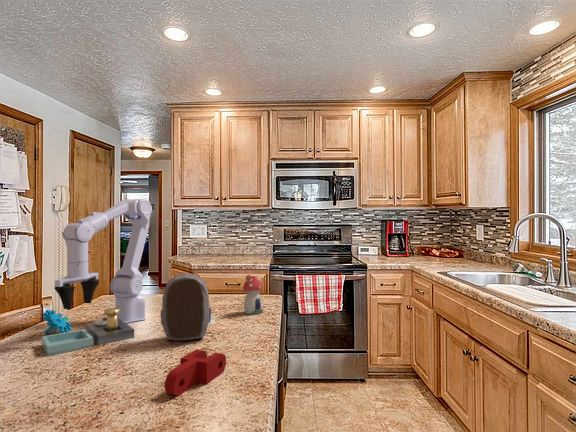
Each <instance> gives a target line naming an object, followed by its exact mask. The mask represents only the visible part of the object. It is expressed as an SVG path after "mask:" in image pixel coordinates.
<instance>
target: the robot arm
mask: <svg viewBox="0 0 576 432" xmlns="http://www.w3.org/2000/svg"><path fill="white" fill-rule="evenodd" d="M152 212H153V207H152V204H151V202H150V201H149V200H148V199H147V198H135V199H134V198H132V199H131V198H130V199H128V198H125V199H122V200H120V201H118V202H117V204H116V203H115V205H113V206H111V207H110V208H107V209H106V210H105V211H103V212H101V211H100V212H99V211H92V212H90V213H89V215H88V216H85V217H84V218H79V219H78V221H77V222H71V223H69V224H67V225H65V227H64V229H63V231H62V232H61V236H62V238H63V239H64V242H65V246H66V275H65V277H61V278H57V279H55V280H54V290H55V291H56V293H57V294H58V296H59V298H60V300H61V302H62V303H61V304H62V306H63V310H72V306H73V294H74V292H75V288H76V287H75V286H73V285H72V284H76V283H80V285H81V287H82V296H83V303H84V304H91V303H92V302H93V297H94V293H95V291H96V289H97V287H98V286H99V284H100V280H99V272H89V241H91V240H92V238H93V236H94V235H95V234H96V233H98V232H99V231H102V230H103V229H105V228H106V227H108V224H109V222H111V221H112V220H115V219H117V218H119V217H120V216H123V217H124V218H125V219H126V220H127V221H128V222H129V223H130V224H131V225H132V228H131V234H130V236H129V241H128V244H127V247H126V252H125V255H124V259H123V264H122V267H121V268H119V269H118V270H117V271H116V272H115V274H114V277H113V278H112V279H111V282H110V285H109V288H110V291H111V293H113V296H114V298H115V303H114V304H115V305H114V306H115V307H114V308H120V313H118V318H119V319H120V320H122V321H123V322H124V323H126V324H129V323H136V322H139V321H144V320H146V301H145V295H144V294H143V293H141V292H142V289H143V277H144V276H143V274H142V273H141V272H140V270H139V268H140V263H141V260H142V255H143V252H144V248H145V243H146V239H147V235H148V232H149V229H150V220H151V219H150V218H151V215H152ZM71 285H72V286H71Z"/></svg>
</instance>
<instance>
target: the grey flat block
mask: <svg viewBox="0 0 576 432" xmlns="http://www.w3.org/2000/svg"><path fill="white" fill-rule="evenodd" d="M85 330H86V331H87V332H88V333H89V334H90V335H91V336H92V337H93V342H95V343H96V344H97V345H99V346H100V345H101V346H102V345H105V344H111V343H115V342H118V341H119V342H120V341H124V340H129V339H133V338H135V329H134V328H133V327H132V326H130V325H129V324H128V323H124V322H123V321H122V320H120V319H119V318H118V330H115V331H109V332H107V316H105V317H100V318H97V319H95V320H94V321H93V322H89V323H88V322H87V323H85Z"/></svg>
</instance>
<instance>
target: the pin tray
mask: <svg viewBox="0 0 576 432" xmlns="http://www.w3.org/2000/svg"><path fill="white" fill-rule="evenodd" d="M41 347H42V348H43V350H44V352H45V354H46V356H47V357H50V356H56V355H60V354H64V353H68V352H69V353H70V352H74V351H80V350H84V349H88V348H92V347H94V340H93V337H92V336H91V335H90V334H89V333H88V332H87V331H86V328H84V329H78V330H72V331H71V330H70V332H64V333H60V332H59V333H55V334H50V335H43V336H41Z"/></svg>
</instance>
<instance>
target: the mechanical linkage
mask: <svg viewBox="0 0 576 432" xmlns="http://www.w3.org/2000/svg"><path fill="white" fill-rule="evenodd" d="M179 361H180V362H179V365H177V366H175V367H174V368H172V369H171V370H170V371H169V372H168V373H167V376H166V377H165V381H164V390H165V392H166V394H167V395H173V396H175V397H176V396H177V397H179V396H181V395H182V394H184V393H185V392H186V391H188V390H190V389H191V388H193V387H194V386H195V385H197V384H203V385H208V384H210V383H211V382H212V381H214V380H215V379H217V378H218V377H220V376H221V375H222V374H224V372H225V369H226V365H227V358H226V355H225V353H222V352H213V353H212V354H210V355H208V353H207V351H205V350H202V349H195V350H193V351H191V352H189V353H187V354H186V355H184V356H182V357H180V360H179Z"/></svg>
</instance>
